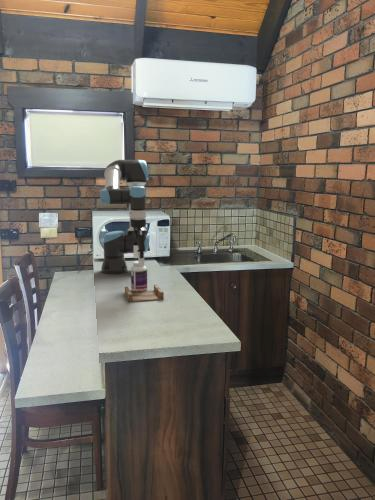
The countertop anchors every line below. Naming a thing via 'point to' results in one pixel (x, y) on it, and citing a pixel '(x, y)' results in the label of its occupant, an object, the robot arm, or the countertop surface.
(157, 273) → the countertop surface
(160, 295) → the cradle
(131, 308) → the countertop surface
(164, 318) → the countertop surface
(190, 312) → the countertop surface
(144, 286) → the pill bottle
